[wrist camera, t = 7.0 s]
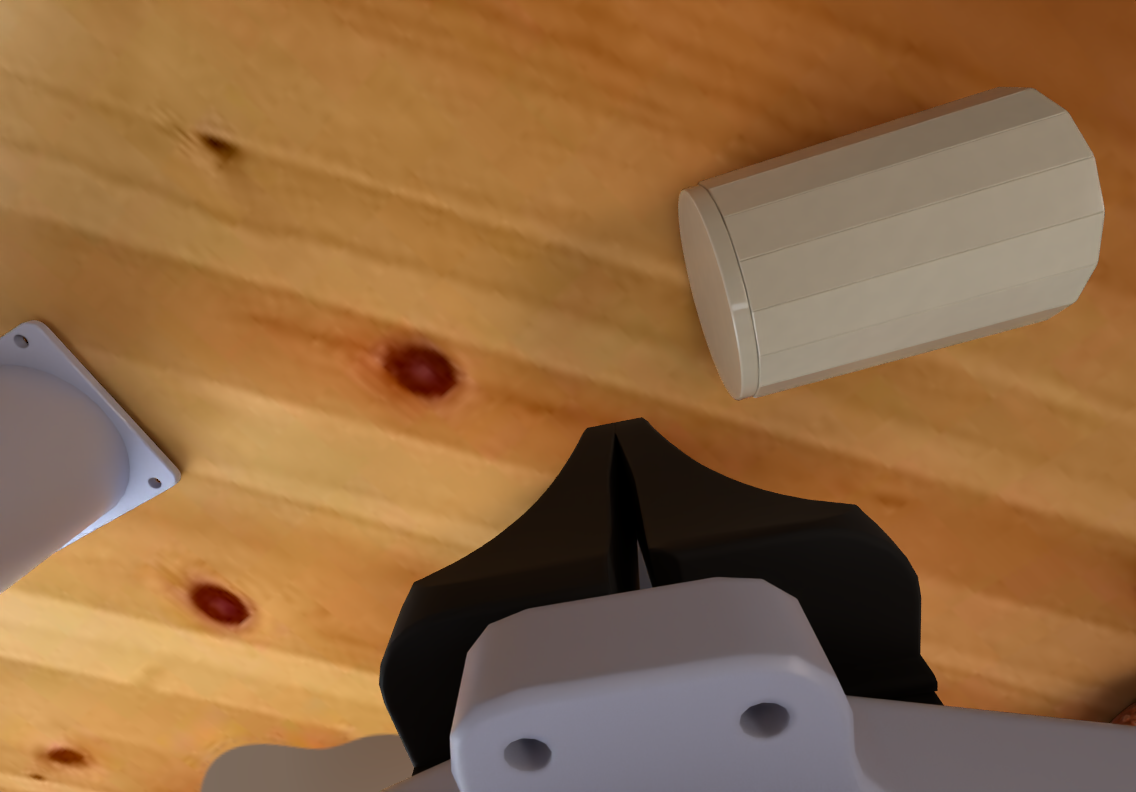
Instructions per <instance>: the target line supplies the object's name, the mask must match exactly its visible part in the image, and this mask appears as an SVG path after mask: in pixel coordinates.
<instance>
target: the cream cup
mask: <svg viewBox="0 0 1136 792" xmlns="http://www.w3.org/2000/svg"><path fill="white" fill-rule="evenodd" d="M1093 156H1094V154H1093V153H1092V151H1091V149H1090V148H1089V146H1088V144H1087V143H1086V141H1085V139H1084V138H1083V136H1082V134H1081V133H1080V131H1079V129H1078V128H1077V126H1076V124H1075V122H1074V121H1073V119H1072V117H1071V116H1070V114H1069V113H1068V112H1067V111H1066V110H1065V109H1063V108H1062V107H1061V106H1059V105H1058V104H1056V103H1055V102H1053V101H1052V100H1050V99H1049V98H1047V97H1046V96H1044V95H1043V94H1041V93H1040V92H1039V91H1037V90H1036V89H1033V88H1019V87H997V88H994V89H991V90H987V91H984V92H981V93H978V94H975V95H972V96H968V97H965V98H962V99H959V100H956V101H953V102H949V103H946V104H943V105H940V106H937V107H934V108H930V109H927V110H924V111H921V112H918V113H915V114H911V115H908V116H905V117H902V118H899V119H896V120H893V121H889V122H886V123H883V124H880V125H877V126H874V127H870V128H867V129H864V130H861V131H858V132H855V133H851V134H848V135H845V136H842V137H839V138H836V139H832V140H829V141H826V142H823V143H820V144H817V145H813V146H810V147H807V148H804V149H801V150H798V151H795V152H791V153H788V154H785V155H782V156H779V157H776V158H772V159H769V160H766V161H763V162H760V163H757V164H753V165H750V166H747V167H744V168H741V169H738V170H734V171H731V172H728V173H725V174H722V175H719V176H715V177H712V178H709V179H706V180H703V181H700V182H698V184H697V185H694V186H691V187H688V188H685V189H682V190H681V192H680V194H679V200H678V218H679V228H680V236H681V242H682V248H683V254H684V259H685V264H686V269H687V273H688V278H689V282H690V286H691V290H692V294H693V298H694V302H695V306H696V309H697V313H698V316H699V320H700V323H701V326H702V330H703V333H704V336H705V339H706V342H707V345H708V348H709V351H710V353H711V356H712V359H713V361H714V364H715V366H716V369H717V371H718V373H719V376H720V378H721V380H722V382H723V384H724V386H725V388H726V389H727V391H728V392H729V394H730V395H731V396H732V397H733V398H734V399H735V400H738V401H739V400H743V399H746V398H750V397H754V398H758V397H761V396H765V395H769V394H773V393H776V392H780V391H784V390H788V389H791V388H795V387H799V386H803V385H806V384H810V383H814V382H817V381H821V380H825V379H829V378H832V377H836V376H840V375H844V374H847V373H851V372H855V371H859V370H862V369H866V368H870V367H874V366H877V365H881V364H885V363H888V362H892V361H896V360H900V359H903V358H907V357H911V356H915V355H918V354H922V353H926V352H930V351H933V350H937V349H941V348H945V347H948V346H952V345H956V344H959V343H963V342H967V341H971V340H974V339H978V338H982V337H986V336H989V335H993V334H997V333H1001V332H1004V331H1008V330H1012V329H1016V328H1019V327H1023V326H1027V325H1030V324H1034V323H1038V322H1042V321H1045V320H1048V319H1049V318H1051V317H1053V316H1054V315H1056V314H1057V313H1059V312H1060V311H1062V310H1064V309H1065V308H1067V307H1068V306H1070V305H1071V304H1073V303H1075V302H1076V301H1077V299H1078V297H1079V296H1080V294H1081V292H1082V290H1083V289H1084V287H1085V285H1086V283H1087V282H1088V280H1089V278H1090V276H1091V275H1092V273H1093V271H1094V269H1095V268H1096V266H1097V263H1098V259H1099V252H1100V244H1101V237H1102V230H1103V223H1104V216H1105V212H1104V211H1105V208H1104V203H1103V198H1102V192H1101V187H1100V182H1099V177H1098V172H1097V167H1096V162H1095V157H1093Z"/></svg>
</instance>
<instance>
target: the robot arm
mask: <svg viewBox="0 0 1136 792" xmlns="http://www.w3.org/2000/svg"><path fill="white" fill-rule="evenodd" d="M23 336H24V337H25V338H26V339H27V340H28V343H26V342H25V340H24V339H23ZM155 478H157V479H158V480H160V482H161V483H159V482H157V481H156V479H155ZM180 479H181V473H180V471H179V470H178V468H177V467H176V466H175V465H174V464H173V463H172V462H171V461H170V460H169V458H168V457H167V456H166V455H165V454H164V453H163V452H162V451H161V450H160V449H159V448H158V446H157V445H156V444H155V443H154V442H153V441H152V440H151V439H150V438H149V437H148V436H147V434H146V433H145V432H144V431H143V430H142V429H141V428H140V427H139V426H138V425H137V424H136V423H135V421H134V420H133V419H132V418H131V417H130V416H129V415H128V414H127V413H126V412H125V411H124V409H123V408H122V407H121V406H120V405H119V404H118V403H117V402H116V401H115V400H114V399H113V397H112V396H111V395H110V394H109V393H108V392H107V391H106V390H105V389H104V388H103V387H102V385H101V384H100V383H99V382H98V381H97V380H96V379H95V378H94V377H93V376H92V375H91V373H90V372H89V371H88V370H87V369H86V368H85V367H84V366H83V365H82V364H81V363H80V361H79V360H78V359H77V358H76V357H75V356H74V355H73V354H72V353H71V352H70V351H69V349H68V348H67V347H66V346H65V345H64V344H63V343H62V342H61V341H60V340H59V339H58V338H57V336H56V335H55V334H54V333H53V332H52V331H51V330H50V329H49V328H48V327H47V326H46V325H45V324H44V323H42V322H40V321H38V320H31V321H27V322H24V323H21V324H20V325H18V326H17V327H15V328H14V329H12V330H11V331H9V332H8V333H6V334H5V335H4V336H2V337H1V338H0V594H1V593H3V592H4V591H5V590H7V589H8V588H9V587H10V586H12V585H13V584H14V583H16V582H17V581H18V580H20V579H21V578H22V577H24V576H25V575H26V574H27V573H29V572H30V571H31V570H33V569H34V568H35V567H37V566H38V565H39V564H40V563H42V562H43V561H44V560H46V559H47V558H48V557H50V556H51V555H52V554H54V553H55V552H57V551H58V550H60V549H62V548H64V547H66V546H67V545H69V544H71V543H73V542H75V541H76V540H78V539H80V538H82V537H83V536H85V535H87V534H89V533H91V532H92V531H94V530H96V529H98V528H100V527H101V526H103V525H105V524H107V523H109V522H110V521H112V520H114V519H116V518H117V517H119V516H121V515H123V514H125V513H126V512H128V511H130V510H132V509H134V508H135V507H137V506H139V505H141V504H142V503H144V502H146V501H148V500H150V499H151V498H153V497H155V496H157V495H159V494H160V493H162V492H164V491H166V490H168V489H169V488H171V487H173V486H174V485H175V484H177V483H178V482H179V481H180ZM637 540H638V543H639V546H640V550H641V553H642V556H643V560H644V563H645V566H646V570H647V573H648V576H649V579H650V583H651V586H652V588H648V589H642V590H640V579H639V562H638V545H637ZM920 640H921V594H920V587H919V581H918V576H917V575H916V573H915V571H914V569H913V568H912V566H911V564H910V562H909V561H908V559H907V557H906V556H905V555H904V554H903V553H902V551H901V550H900V549H899V548H898V547H897V545H896V544H895V543H894V542H893V541H892V540H891V538H890V537H889V536H888V535H887V534H886V533H885V532H884V531H883V530H882V529H881V528H880V527H879V526H878V525H877V524H876V523H875V522H874V521H873V520H872V519H871V518H869V517H868V516H867V515H866V514H865V513H864V512H863V511H862V510H861V509H860V508H859V507H858V506H857V505H854V504H844V503H835V502H825V501H816V500H808V499H802V498H797V497H792V496H787V495H782V494H778V493H774V492H770V491H766V490H762V489H759V488H756V487H753V486H750V485H747V484H744V483H741V482H738V481H736V480H733V479H730V478H728V477H726V476H724V475H722V474H719V473H717V472H715V471H713V470H711V469H709V468H707V467H705V466H703V465H701V464H700V463H698V462H696V461H695V460H693V459H692V458H690V457H689V456H687V455H686V454H684V453H683V452H682V451H680V450H679V449H678V448H676V447H675V446H674V445H673V444H671V443H670V442H669V441H668V440H666V439H665V438H664V437H663V436H662V435H661V434H660V433H658V432H657V431H656V430H655V429H654V428H653V427H652V426H651V425H650V424H649V422H648V421H646V420H645V419H644V418H642V417H641V418H636V419H631V420H626V421H621V422H616V423H610V424H605V425H600V426H595V427H590V428H587V429H586V430H585V431H584V433H583V434H582V436H581V438H580V440H579V442H578V444H577V446H576V448H575V449H574V451H573V453H572V454H571V456H570V458H569V459H568V461H567V462H566V464H565V466H564V467H563V469H562V470H561V472H560V473H559V475H558V476H557V477H556V479H555V480H554V481H553V483H552V484H551V485H550V487H549V488H548V489H547V491H546V492H545V493H544V494H543V495H542V496H541V497H540V499H539V500H538V501H537V502H536V503H535V504H534V505H533V506H532V507H531V508H530V509H529V510H528V511H527V512H526V513H525V514H523V515H522V516H521V517H520V518H519V519H518V520H516V521H515V522H514V523H513V524H511V525H510V526H509V527H508V528H506V529H505V530H504V531H503V532H501V533H500V534H499V535H498V536H496V537H495V538H494V539H492V540H491V541H489V542H488V543H486V544H485V545H483V546H482V547H480V548H479V549H477V550H475V551H474V552H472V553H470V554H469V555H467V556H466V557H464V558H462V559H460V560H459V561H457V562H455V563H453V564H451V565H449V566H447V567H445V568H443V569H441V570H439V571H437V572H435V573H433V574H431V575H429V576H427V577H425V578H423V579H420V580H418V581H416V582H414V583H413V585H412V588H411V590H410V592H409V594H408V596H407V598H406V600H405V602H404V604H403V606H402V609H401V611H400V614H399V616H398V619H397V621H396V624H395V627H394V629H393V632H392V635H391V638H390V640H389V643H388V646H387V648H386V651H385V654H384V657H383V659H382V662H381V666H380V679H379V686H380V689H381V693H382V696H383V700H384V703H385V706H386V708H387V710H388V712H389V714H390V716H391V719H392V721H393V723H394V725H395V727H396V729H397V731H398V734H399V736H400V738H401V740H402V742H403V744H404V747H405V749H406V751H407V753H408V755H409V757H410V759H411V761H412V763H413V766H414V770H413V774H412V777H410V778H408V779H406V780H403V781H401V782H399V783H396V784H394V785H392V786H390V787H388V788H385V789H383V790H381V791H379V792H1136V726H1130V725H1121V724H1112V723H1102V722H1093V721H1083V720H1074V719H1064V718H1055V717H1046V716H1036V715H1027V714H1017V713H1008V712H998V711H989V710H979V709H970V708H961V707H951V706H944V705H943V704H942V702H941V701H940V699H939V698H938V696H937V695H936V693H935V692H934V691H937V684H938V683H937V680H936V678H935V675H934V674H933V672H932V671H931V669H930V668H929V666H928V665H927V664H926V662H925V661H924V659H923V658H922V656H921V655H920Z"/></svg>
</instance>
